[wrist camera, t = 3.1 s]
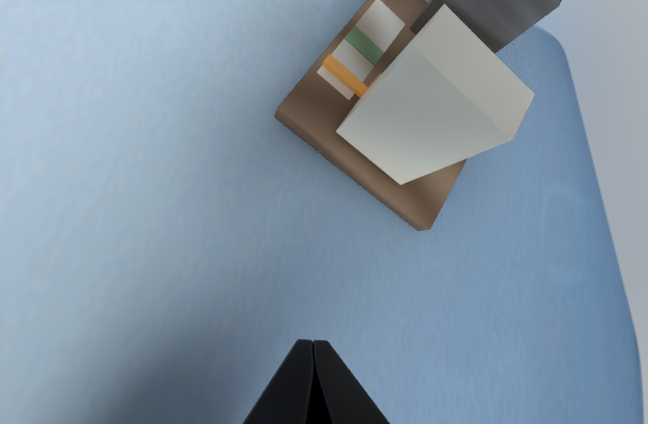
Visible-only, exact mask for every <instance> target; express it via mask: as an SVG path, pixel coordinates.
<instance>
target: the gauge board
mask: <svg viewBox="0 0 648 424" xmlns="http://www.w3.org/2000/svg"><path fill="white" fill-rule="evenodd" d="M561 1H562V0H431V1H430V2H429V3H427V2H426V1H425V0H367V1H366V2H365V3H364V5H363V6H362V7H361V8H360V9H359V11H358V12H357V13H356V14H355V15H354V17H353V18H352V19H351V20H350V21H349V23H348V24H347V25H346V26H345V27H344V29H343V30H342V31H341V32H340V33H339V35H338V36H337V37H336V38H335V39H334V41H333V42H332V43H331V44H330V45H329V47H328V48H327V49H326V50H325V51H324V53H323V54H322V55H321V56H320V57H319V59H318V60H317V61H316V62H315V63H314V65H313V66H312V67H311V68H310V69H309V71H308V72H307V73H306V74H305V75H304V77H303V78H302V79H301V80H300V81H299V83H298V84H297V85H296V86H295V88H294V89H293V90H292V91H291V92H290V94H289V95H288V96H287V97H286V98H285V100H284V101H283V102H282V103H281V104H280V106H279V107H278V109H277V112H276V114H275V117H276V118H277V119H278V120H280V121H281V122H282V123H283V124H285V125H286V126H287V127H288V128H290V129H291V130H292V131H293V132H295V133H296V134H297V135H298V136H300V137H301V138H302V139H303V140H305V141H306V142H307V143H308V144H310V145H311V146H312V147H313V148H315V149H316V150H317V151H318V152H320V153H321V154H322V155H323V156H325V157H326V158H327V159H329V160H330V161H331V162H332V163H334V164H335V165H336V166H337V167H339V168H340V169H341V170H342V171H344V172H345V173H346V174H347V175H349V176H350V177H351V178H352V179H354V180H355V181H356V182H357V183H359V184H360V185H361V186H362V187H364V188H365V189H366V190H367V191H369V192H370V193H371V194H372V195H374V196H375V197H376V198H377V199H379V200H380V201H381V202H382V203H384V204H385V205H386V206H387V207H389V208H390V209H391V210H392V211H394V212H395V213H396V214H397V215H399V216H400V217H401V218H403V219H404V220H405V221H406V222H408V223H409V224H410V225H411V226H413V227H414V228H415V229H416V230H418V231H420V230H428V229H431V227H432V225H433V223H434V221H435V219H436V217H437V215H438V213H439V211H440V209H441V208H442V206H443V204H444V202H445V200H446V198H447V196H448V194H449V192H450V190H451V189H452V187H453V185H454V183H455V181H456V179H457V177H458V175H459V173H460V171H461V170H462V168H463V166H464V164H465V162H466V160H467V159H464V160H462V161H459V162H457V163H454V164H452V165H449V166H447V167H444V168H442V169H439V170H437V171H434V172H432V173H429V174H427V175H424V176H422V177H419V178H417V179H414V180H412V181H409V182H407V183H404V184H402V185H400V184H399V183H397V182H396V181H395V180H394V179H393V178H391V177H390V176H389V175H388V174H386V173H385V172H384V171H383V170H382V169H380V168H379V167H378V166H377V165H376V164H374V163H373V162H372V161H371V160H369V159H368V158H367V157H366V156H365V155H363V154H362V153H361V152H360V151H359V150H357V149H356V148H355V147H354V146H352V145H351V144H350V143H349V142H348V141H346V140H345V139H344V138H343V137H342V136H340V135H339V134H338V133H337V132H336V130H337V129H338V128H339V126H340V125H341V124H342V122H343V121H344V119H345V118H346V117H347V115H348V114H349V112H350V111H351V110H352V108H353V107H354V106H355V104H356V103H357V101H358V100H359V99H360V97H359V96H358V95H356V94H355V93H354V92H353V91H352V90H351V89H349V88H348V87H347V86H346V85H345V84H344V83H343V82H341V81H340V80H339V79H338V78H337V77H336V76H334V75H333V74H332V73H331V72H330V71H329V70H327V69H326V68H325V67H324V66H323V65H322V63H323V61H324V60H325V59H326V58H327V56H328V55H329V54H331V55H332V56H333V57H334V58H335V59H336V60H338V61H339V62H340V63H341V64H342V65H343V66H344V67H345V68H347V69H348V70H349V71H350V72H351V73H352V74H353V75H355V76H356V77H357V78H358V79H359V80H360V81H361V82H363V83H364V84H365V85H366V86H367V87H369V86H370V85H371V83H372V82H373V81H374V80H375V79H376V78H377V77H378V75H379V74H380V73H381V74H382V73H383V72H384V71H385V70H386V69H387V68H388V67H389V65H390V64H391V63H392V62H393V61H394V60H395V59H396V58H397V56H398V55H399V54H400V53H401V52H402V51H403V50H404V49H405V47H406V46H407V45H408V44H409V43H410V42H411V41H412V40H413V38H414V37H415V36H416V35H417V34H418V33H419V32H420V31H421V29H422V28H423V27H424V26H425V25H426V24H427V23H428V22H429V20H430V19H431V18H432V17H433V16H434V15H435V14H436V13H437V11H438V10H439V9H440V8H441V7H442V6H443V5H444V4H445V5H446V6H447V7H448V8H449V9H450V10H451V11H452V12H453V13H454V14H455V15H456V16H457V17H458V18H459V19H460V20H461V21H462V22H463V23H464V24H465V25H466V26H467V27H468V28H469V29H470V30H471V31H472V32H473V33H474V34H475V35H476V36H477V37H478V38H479V39H480V40H481V41H482V42H483V43H484V44H485V45H486V46H487V47H488V48H489V49H490V50H491V51H492V52H493V53H494V54H495V53H496V52H497V51H499V50H500V49H502V48H503V47H504V46H506V45H507V44H508V43H510V42H511V41H512V40H514V39H515V38H516V37H518V36H519V35H520V34H522V33H523V32H525V31H526V30H527V29H529V28H530V27H531V26H533V25H534V24H535V23H537V22H538V21H539V20H541V19H542V18H543V17H544V16H546V15H548V14H549V13H550V12H551V11H553V10H554V9H556V8H557V7H558V6H559V5H560V3H561Z"/></svg>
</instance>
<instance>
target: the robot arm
mask: <svg viewBox="0 0 648 424" xmlns="http://www.w3.org/2000/svg"><path fill="white" fill-rule="evenodd" d="M243 424H390V423H389V422H388V420H387V419H386V418H385V416H384V415H383V414H382V412H381V411H380V410H379V408H378V407H377V406H376V404H375V403H374V402H373V400H372V399H371V398H370V396H369V395H368V394H367V392H366V391H365V390H364V388H363V387H362V386H361V384H360V383H359V382H358V380H357V379H356V378H355V376H354V375H353V374H352V372H351V371H350V370H349V369H348V367H347V366H346V365H345V363H344V362H343V361H342V359H341V358H340V357H339V355H338V354H337V353H336V351H335V350H334V349H333V347H332V346H331V345H330V343H329V342H328V341H325V340H314V341H313V343H312V341H311V340H306V339H298V340H297V341H296V342H295V344H294V345H293V347H292V349H291V350H290V352H289V353H288V355H287V356H286V358H285V359H284V361H283V362H282V364H281V365H280V367H279V368H278V370H277V372H276V373H275V375H274V376H273V378H272V379H271V381H270V382H269V384H268V385H267V387H266V388H265V390H264V391H263V393H262V395H261V396H260V398H259V399H258V401H257V402H256V404H255V405H254V407H253V408H252V410H251V411H250V413H249V414H248V416H247V418H246V419H245V421H244V422H243Z"/></svg>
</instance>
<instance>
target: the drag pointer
mask: <svg viewBox="0 0 648 424" xmlns="http://www.w3.org/2000/svg"><path fill="white" fill-rule="evenodd" d="M322 65H323V66H324V67H325V68H326V69H327V70H329V71H330V72H331V73H332V74H333V75H334V76H336V77H337V78H338V79H339V80H340V81H341V82H343V83H344V84H345V85H346V86H347V87H348V88H349V89H351V90H352V91H353V92H354V93H355V94H356V95H358V96H359V97H360V98H361V97H362V96H363V95H364V94H365V92H366V91H367V90H368V89H369V88H370V87H371V86H372V85H373V83H374V82H375V81H376V80H377V79H378V78H379V77H380V76H381V73H380V74H379V75H378V77H377V78H376V79H375V80H374V81H373V82H372V83H371V85H370V86H369V87H367V86H366V85H365V84H364V83H363V82H361V81H360V80H359V79H358V78H357V77H356V76H355V75H353V74H352V73H351V72H350V71H349V70H348V69H347V68H345V67H344V66H343V65H342V64H341V63H340V62H339V61H338V60H336V59H335V58H334V57H333V56H332V55H331V54H329V55H328V56H327V58H326V59H325V60H324V61H323V63H322Z"/></svg>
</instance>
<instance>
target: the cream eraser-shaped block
mask: <svg viewBox="0 0 648 424" xmlns="http://www.w3.org/2000/svg"><path fill="white" fill-rule="evenodd" d="M534 95H535V94H534V93H533V92H532V91H531V90H530V89H529V88H528V87H527V86H526V85H525V84H524V83H523V82H522V81H521V80H520V79H519V78H518V77H517V76H516V75H515V74H514V73H513V72H512V71H511V70H510V69H509V68H508V67H507V66H506V65H505V64H504V63H503V62H502V61H501V60H500V59H499V58H498V57H497V56H496V55H495V54H494V53H493V52H492V51H491V50H490V49H489V48H488V47H487V46H486V45H485V44H484V43H483V42H482V41H481V40H480V39H479V38H478V37H477V36H476V35H475V34H474V33H473V32H472V31H471V30H470V29H469V28H468V27H467V26H466V25H465V24H464V23H463V22H462V21H461V20H460V19H459V18H458V17H457V16H456V15H455V14H454V13H453V12H452V11H451V10H450V9H449V8H448V7H447V6H446V5H445V4H444V5H443V6H442V7H441V8H440V9H439V10H438V11H437V13H436V14H435V15H434V16H433V17H432V18H431V19H430V20H429V22H428V23H427V24H426V25H425V26H424V27H423V28H422V29H421V31H420V32H419V33H418V34H417V35H416V36H415V37H414V38H413V40H412V41H411V42H410V43H409V44H408V45H407V46H406V47H405V49H404V50H403V51H402V52H401V53H400V54H399V55H398V56H397V58H396V59H395V60H394V61H393V62H392V63H391V64H390V65H389V67H388V68H387V69H386V70H385V71H384V72H383V73H382V74H381V76H380V77H379V78H378V79H377V80H376V81H375V82H374V83H373V85H372V86H371V87H370V88H369V89H368V90H367V91H366V92H365V94H364V95H363V96H362V97H361V98H360V99H359V100H358V101H357V103H356V104H355V106H354V107H353V108H352V110H351V111H350V112H349V114H348V115H347V117H346V118H345V119H344V121H343V122H342V124H341V125H340V126H339V128H338V129H337V130H336V132H337V133H338V134H339V135H340V136H342V137H343V138H344V139H345V140H346V141H348V142H349V143H350V144H351V145H352V146H354V147H355V148H356V149H357V150H359V151H360V152H361V153H362V154H363V155H365V156H366V157H367V158H368V159H369V160H371V161H372V162H373V163H374V164H376V165H377V166H378V167H379V168H380V169H382V170H383V171H384V172H385V173H386V174H388V175H389V176H390V177H391V178H393V179H394V180H395V181H396V182H397V183H399V184H400V185H402V184H404V183H407V182H409V181H412V180H414V179H417V178H419V177H422V176H424V175H427V174H429V173H432V172H434V171H437V170H439V169H442V168H444V167H447V166H449V165H452V164H454V163H457V162H459V161H462V160H464V159H467V158H469V157H472V156H474V155H477V154H479V153H482V152H484V151H487V150H489V149H492V148H494V147H497V146H499V145H502V144H504V143H507V142H509V141H512V140H513V139H514V137H515V135H516V132H517V130H518V128H519V126H520V124H521V122H522V120H523V118H524V116H525V114H526V111H527V109H528V107H529V105H530V103H531V101H532V99H533V97H534Z"/></svg>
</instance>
